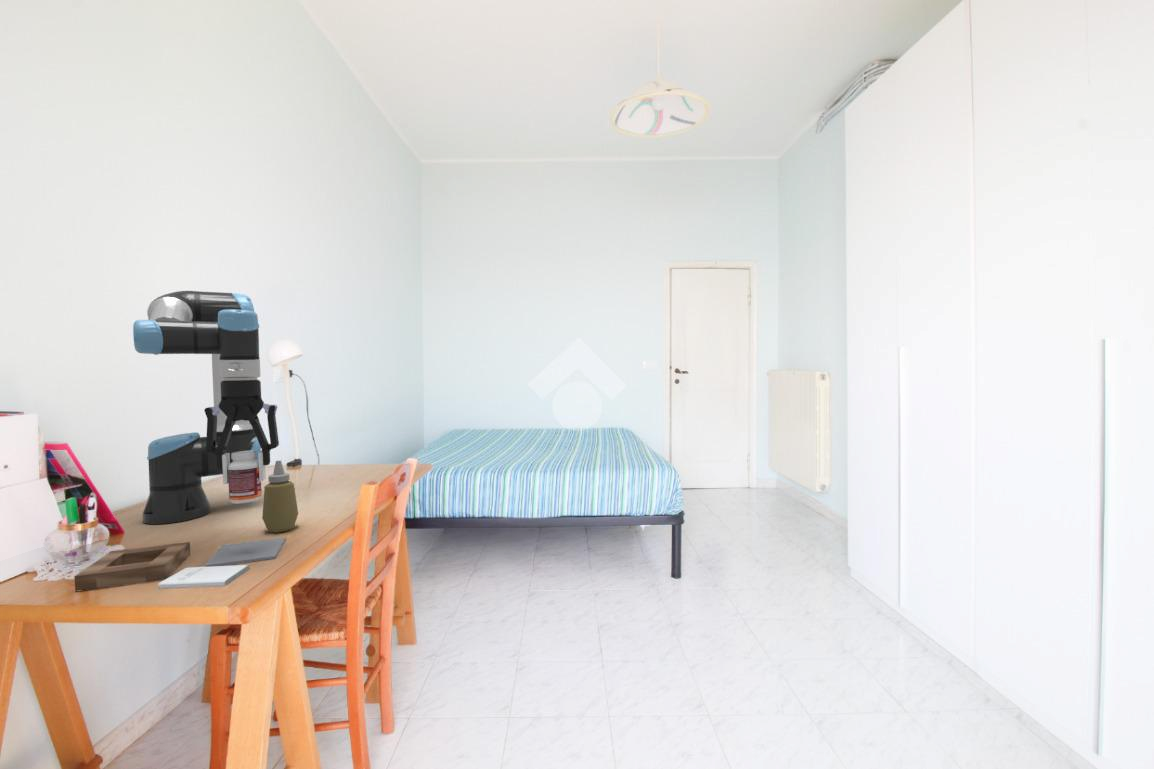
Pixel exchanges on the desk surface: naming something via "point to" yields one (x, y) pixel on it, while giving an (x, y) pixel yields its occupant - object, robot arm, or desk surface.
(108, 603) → the desk surface
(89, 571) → the walnut frame
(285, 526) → the squeeze bottle
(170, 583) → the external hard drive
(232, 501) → the pill bottle
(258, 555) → the grey mat
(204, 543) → the desk surface
